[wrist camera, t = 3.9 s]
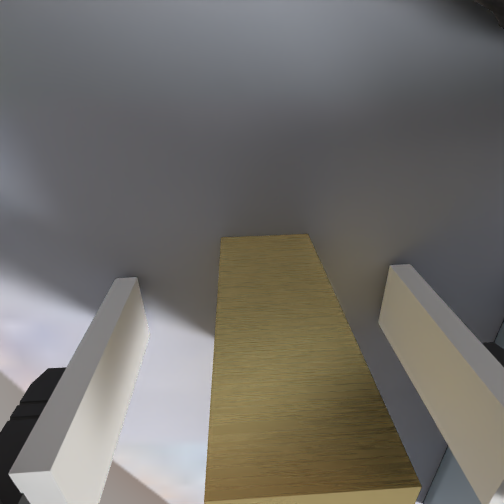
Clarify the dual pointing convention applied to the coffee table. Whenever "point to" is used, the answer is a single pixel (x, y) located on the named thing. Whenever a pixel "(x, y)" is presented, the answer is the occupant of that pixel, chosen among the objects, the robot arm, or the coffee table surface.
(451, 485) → the coin box
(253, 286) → the block
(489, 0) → the fossil
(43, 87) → the coffee table surface
